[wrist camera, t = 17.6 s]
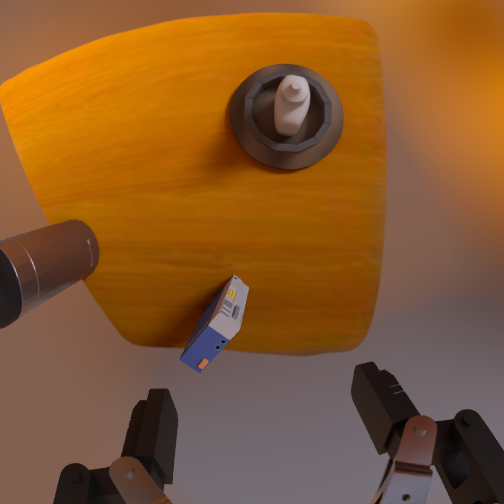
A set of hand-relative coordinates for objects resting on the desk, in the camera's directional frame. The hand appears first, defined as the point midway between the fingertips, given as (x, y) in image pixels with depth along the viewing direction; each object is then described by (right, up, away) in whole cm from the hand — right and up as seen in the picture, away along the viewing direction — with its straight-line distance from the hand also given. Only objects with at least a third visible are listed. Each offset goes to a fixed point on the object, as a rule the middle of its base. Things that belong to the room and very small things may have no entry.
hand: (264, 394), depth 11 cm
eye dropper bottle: (+4, +23, +22) cm, 32 cm away
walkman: (-4, -1, +29) cm, 30 cm away
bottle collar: (+4, +23, +23) cm, 33 cm away
